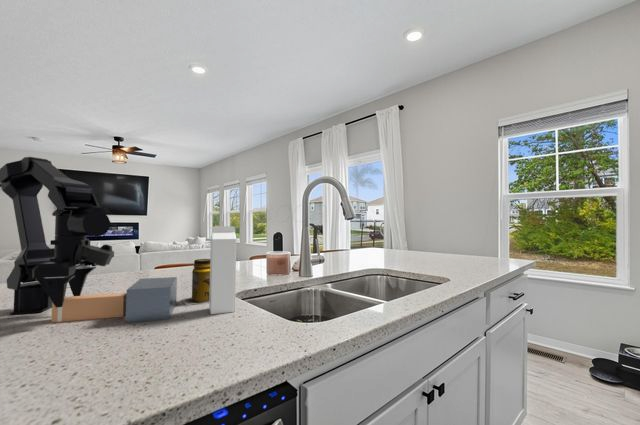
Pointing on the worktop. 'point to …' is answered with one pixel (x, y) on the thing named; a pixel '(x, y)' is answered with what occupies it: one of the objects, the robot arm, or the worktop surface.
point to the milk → (222, 270)
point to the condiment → (200, 283)
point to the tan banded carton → (90, 307)
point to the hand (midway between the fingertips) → (68, 301)
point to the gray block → (151, 299)
